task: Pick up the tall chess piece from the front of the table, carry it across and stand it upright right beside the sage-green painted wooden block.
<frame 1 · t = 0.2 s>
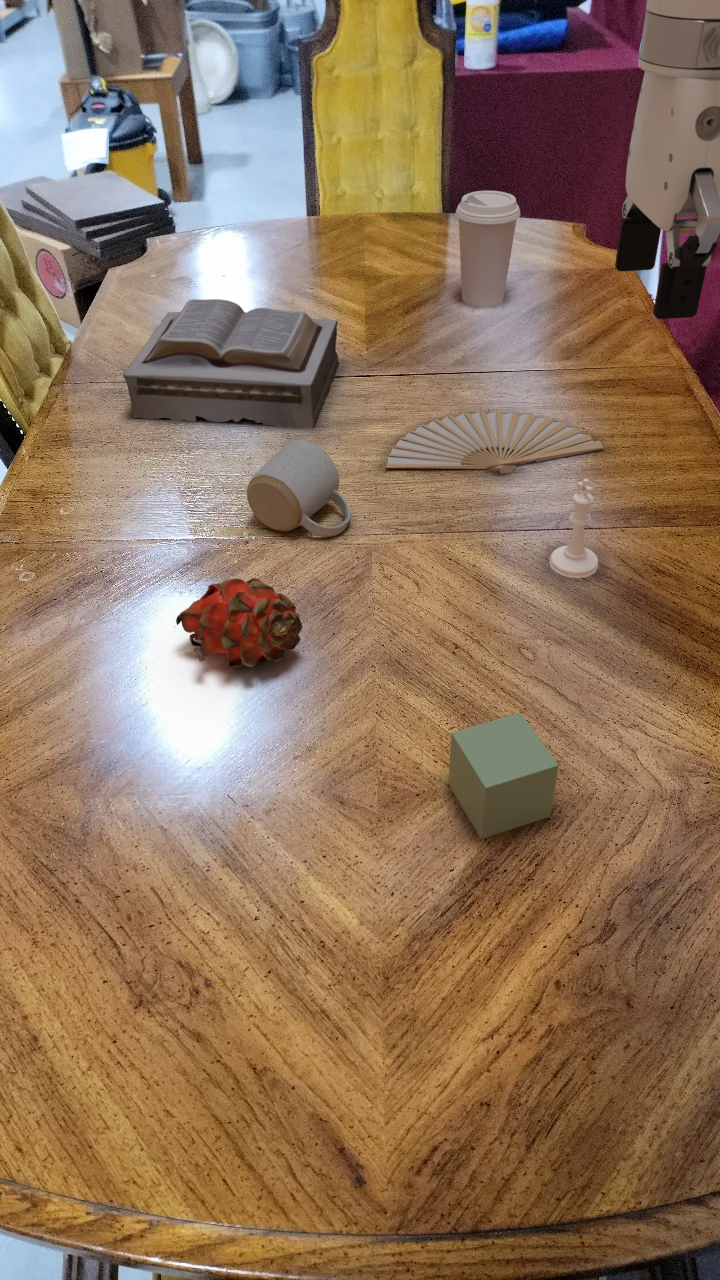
hand: (653, 291, 78), 30 cm above the table, tool pointing down, fingers open, 9 cm apart
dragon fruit: (243, 655, 92), on the table
hand fan: (487, 446, 121), on the table
coffee cup: (482, 300, 155), on the table
bible: (240, 391, 133), on the table
ceramic mug: (305, 519, 109), on the table
chess piece: (573, 565, 102), on the table
block: (498, 800, 78), on the table
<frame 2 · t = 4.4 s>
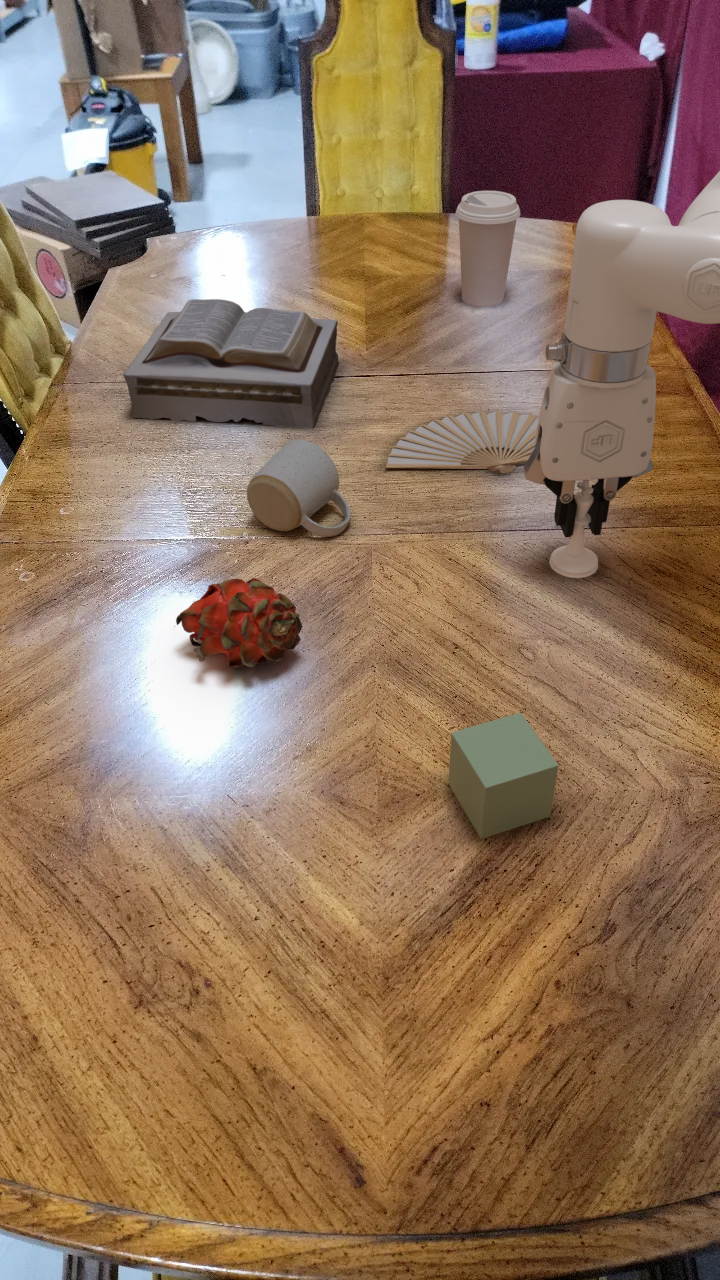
hand: (578, 527, 99), 5 cm above the table, tool pointing down, fingers closed on chess piece
chess piece: (573, 565, 102), on the table, touching gripper
everything else where it was.
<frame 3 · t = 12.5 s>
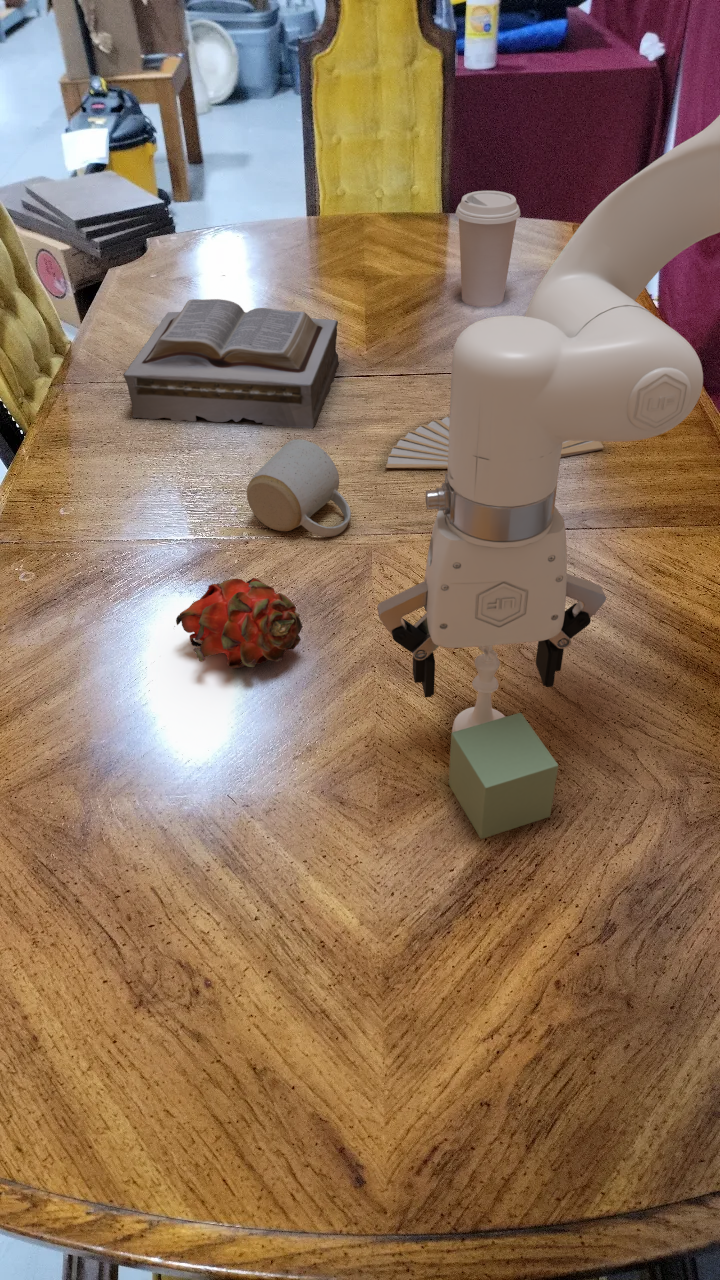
hand: (485, 680, 80), 6 cm above the table, tool pointing down, fingers open, 9 cm apart
chess piece: (481, 733, 84), on the table
everything else where it was.
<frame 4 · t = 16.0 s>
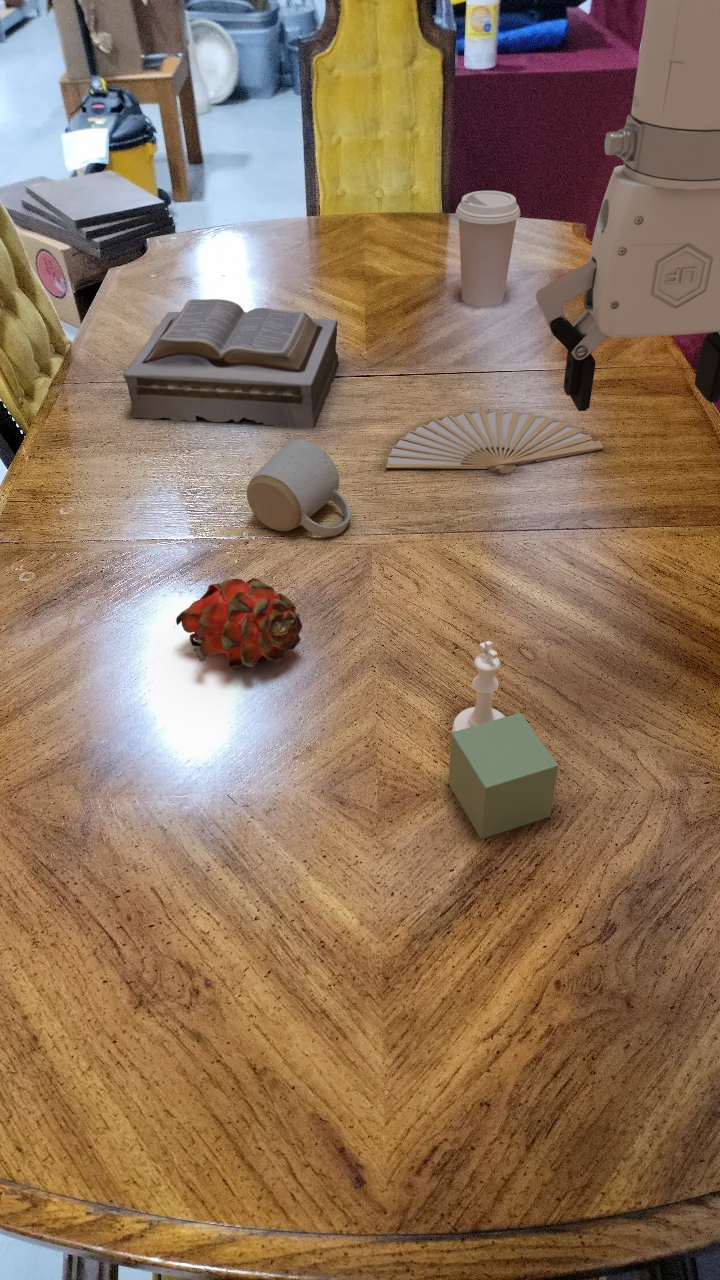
hand: (642, 398, 73), 26 cm above the table, tool pointing down, fingers open, 9 cm apart
nothing on the table moved.
at the end: chess piece 7.6 cm from the block (horizontally); chess piece tilted 0°; chess piece moved 26.4 cm from its start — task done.
